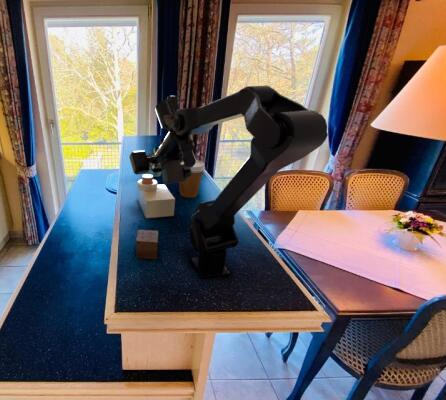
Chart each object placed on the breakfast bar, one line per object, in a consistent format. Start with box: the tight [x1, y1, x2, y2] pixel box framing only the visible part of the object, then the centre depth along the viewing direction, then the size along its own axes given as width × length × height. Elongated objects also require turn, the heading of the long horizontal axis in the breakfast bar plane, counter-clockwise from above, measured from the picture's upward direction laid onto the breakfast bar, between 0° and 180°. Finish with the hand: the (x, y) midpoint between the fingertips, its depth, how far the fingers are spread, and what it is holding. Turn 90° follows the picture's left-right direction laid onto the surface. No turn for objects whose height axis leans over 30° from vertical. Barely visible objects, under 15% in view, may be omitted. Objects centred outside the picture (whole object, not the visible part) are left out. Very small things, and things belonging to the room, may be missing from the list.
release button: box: [141, 173, 154, 185], centre depth 87 cm, size 4×4×3 cm
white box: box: [136, 178, 176, 219], centre depth 87 cm, size 13×10×8 cm
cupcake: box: [148, 149, 162, 178], centre depth 114 cm, size 9×8×12 cm
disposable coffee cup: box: [178, 159, 206, 199], centre depth 95 cm, size 10×10×12 cm
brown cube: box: [135, 229, 159, 260], centre depth 65 cm, size 5×5×5 cm
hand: (153, 172), depth 82 cm, fingers closed
